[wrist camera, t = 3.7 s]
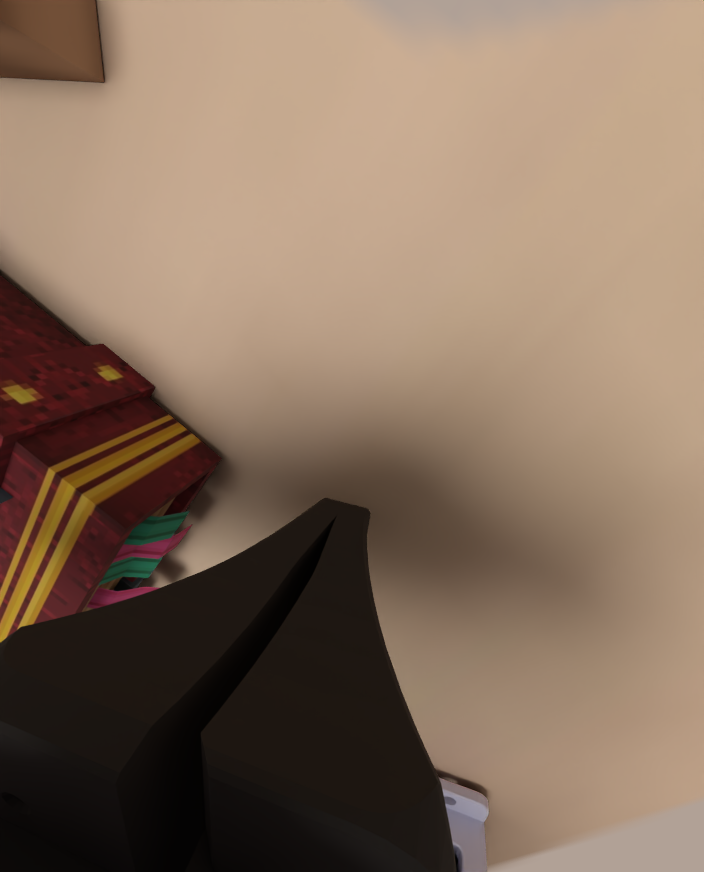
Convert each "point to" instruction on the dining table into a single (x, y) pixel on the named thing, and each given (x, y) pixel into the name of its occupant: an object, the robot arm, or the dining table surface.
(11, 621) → the decorative book
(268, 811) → the robot arm
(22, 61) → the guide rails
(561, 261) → the dining table surface
